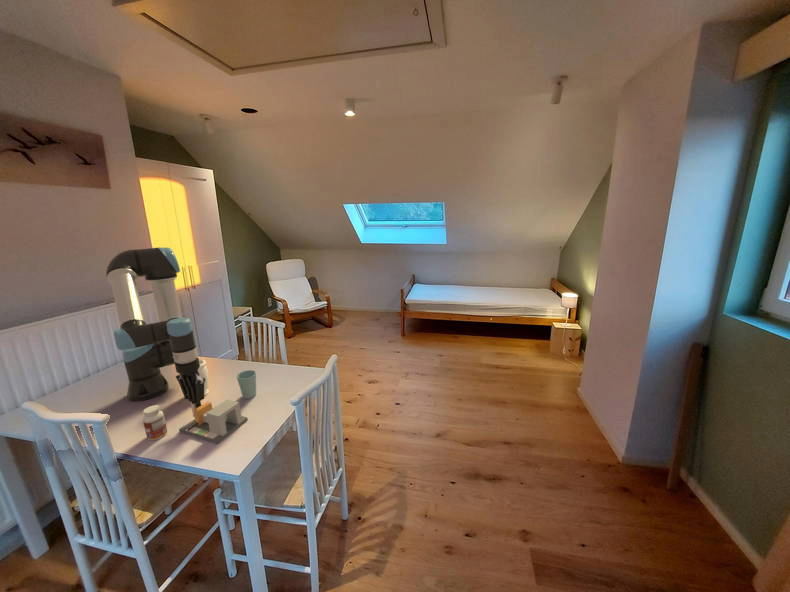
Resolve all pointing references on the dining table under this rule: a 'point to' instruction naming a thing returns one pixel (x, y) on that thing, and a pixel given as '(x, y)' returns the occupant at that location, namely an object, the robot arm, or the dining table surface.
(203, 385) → the robot arm
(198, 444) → the dining table surface
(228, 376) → the dining table surface
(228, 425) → the board
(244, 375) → the cup
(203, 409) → the plunger
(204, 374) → the jar
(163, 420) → the pill bottle
